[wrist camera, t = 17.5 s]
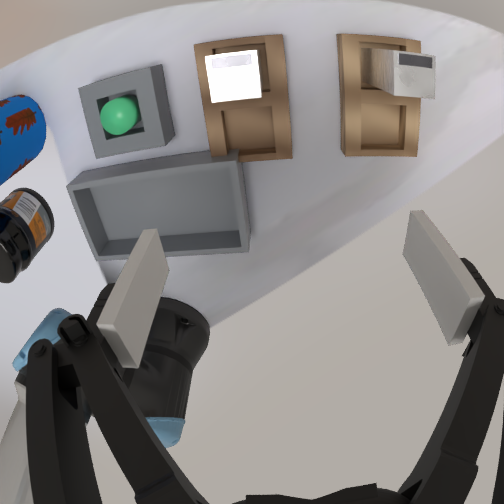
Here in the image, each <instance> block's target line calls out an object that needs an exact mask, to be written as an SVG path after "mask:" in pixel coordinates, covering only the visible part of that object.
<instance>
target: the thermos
mask: <svg viewBox="0 0 504 504" xmlns="http://www.w3.org/2000/svg"><path fill="white" fill-rule="evenodd" d="M45 139H46V123H45V119H44V115H43V113H42V111H41V109H40V107H39V106H38V104H37V103H36V102H35V101H34V100H32V99H31V98H30V97H27V96H24V95H17V96H13V97H10V98H7V99H4V100H1V101H0V185H2V184H3V183H4V182H5V181H7V180H8V179H9V178H11V177H12V176H13V175H14V174H16V173H17V172H18V171H20V170H21V169H22V168H24V167H25V166H26V165H27V164H28V163H30V162H31V161H32V160H33V159H34V158H36V157H37V156H38V154H39V153H40V151H41V150H42V149H43V146H44V143H45Z"/></svg>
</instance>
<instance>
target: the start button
mask: <svg viewBox="0 0 504 504" xmlns="http://www.w3.org/2000/svg"><path fill="white" fill-rule="evenodd" d="M141 118H142V117H141V112H140V107H139V102H138V99H137V98H136V97H134V96H132V95H123V96H120V97H118V98H116V99H113V100H111V101H109V102H108V103H106V104H105V105H104V107H103V108H102V110H101V114H100V120H101V124H102V126H103V128H104V129H105V130H106V131H107V132H109V133H111V134H114V135H120V134H123V133H125V132H127V131H128V130H129V129H131V128H132V127H133V126H135V125H136V124H137V123H138V122H139V121H140V120H141Z"/></svg>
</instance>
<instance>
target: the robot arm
mask: <svg viewBox="0 0 504 504" xmlns="http://www.w3.org/2000/svg"><path fill="white" fill-rule="evenodd" d="M403 255H404V257H405V259H406V261H407V262H408V264H409V266H410V268H411V270H412V272H413V274H414V275H415V277H416V279H417V281H418V283H419V285H420V287H421V289H422V291H423V292H424V295H425V297H426V298H427V300H428V303H429V304H430V307H431V309H432V311H433V313H434V315H435V317H436V319H437V321H438V323H439V325H440V328H441V330H442V332H443V334H444V336H445V339H446V341H447V343H448V345H453V344H458V343H462V342H463V341H464V339H465V337H466V335H467V333H468V335H469V337H470V339H471V340H470V342H469V344H468V346H467V348H466V349H465V351H464V353H463V355H462V356H464V358H463V361H462V364H461V367H460V370H459V373H458V375H457V378H456V381H455V383H454V386H453V388H452V391H451V393H450V396H449V398H448V401H447V403H446V405H445V408H444V410H443V412H442V415H441V417H440V419H439V421H438V423H437V425H436V428H435V430H434V431H433V434H432V436H431V438H430V440H429V442H428V444H427V445H426V448H425V449H424V451H423V453H422V455H421V457H420V459H419V461H418V462H417V464H416V466H415V468H414V469H413V471H412V473H411V474H410V476H409V477H408V478H407V480H406V481H405V482H404V483H403V484H402V486H401V487H400V489H399V490H398V492H394V491H391V490H388V489H382V488H377V485H376V483H373V484H368V485H363V486H357V487H350V488H345V489H342V490H340V491H337V492H334V493H332V494H329V495H326V496H323V497H320V498H317V499H313V500H310V499H302V498H296V497H290V496H284V495H246V500H242V501H239V502H236V503H233V504H464V502H465V500H466V497H467V495H468V493H469V491H470V489H471V487H472V485H473V482H474V480H475V478H476V475H477V472H478V466H477V465H476V461H477V458H478V455H479V452H480V450H481V447H482V445H483V442H484V439H485V436H486V433H487V431H488V428H489V425H490V421H491V418H492V415H493V412H494V409H495V405H496V401H497V398H498V394H499V390H500V387H501V382H502V379H503V374H504V300H503V299H500V298H496V297H495V296H494V294H493V292H492V291H491V289H490V288H489V286H488V285H487V283H486V282H485V281H484V279H482V276H481V275H480V273H478V270H477V269H476V268H475V266H474V265H473V264H472V263H471V262H470V261H468V260H467V259H466V258H459V257H458V255H457V254H456V253H455V251H454V250H453V248H452V247H451V246H450V244H449V243H448V242H447V240H446V239H445V238H444V237H443V235H442V234H441V233H440V231H439V230H438V229H437V227H436V226H435V225H434V224H433V222H432V221H431V220H430V219H429V217H428V216H427V215H426V214H425V212H424V211H423V210H421V211H410V217H409V223H408V229H407V235H406V240H405V245H404V250H403ZM169 271H170V270H169V267H168V264H167V261H166V257H165V254H164V251H163V248H162V244H161V241H160V237H159V234H158V230H157V228H156V229H146V230H143V232H142V233H141V235H140V237H139V239H138V241H137V243H136V245H135V246H134V248H133V250H132V252H131V254H130V256H129V258H128V260H127V262H126V264H125V265H124V267H123V269H122V271H121V273H120V275H119V277H118V279H117V281H116V283H110V284H108V285H107V286H106V287H105V288H104V289H103V290H102V291H101V292H100V294H99V296H98V298H97V301H96V302H95V304H94V307H93V308H92V310H91V312H90V314H89V316H88V318H87V320H85V318H84V317H83V316H82V315H80V314H73V315H72V314H70V313H69V312H67V311H66V310H64V309H62V308H57V309H53V310H52V311H50V313H49V314H48V315H47V316H46V318H45V319H44V320H43V321H42V322H41V324H40V325H39V326H38V327H37V329H36V330H35V331H34V333H33V334H32V335H31V337H30V338H29V340H28V341H27V342H26V344H25V345H24V347H23V348H22V349H21V351H20V352H19V354H18V355H17V357H16V358H15V359H14V361H13V367H14V368H15V370H16V371H19V374H18V376H17V378H16V380H15V382H14V384H15V387H16V390H17V393H18V402H17V404H16V406H15V408H14V411H13V413H12V416H11V418H10V420H9V423H8V425H7V428H6V431H5V433H4V436H3V439H2V441H1V444H0V504H102V501H101V497H100V493H99V489H98V485H97V481H96V477H95V472H94V468H93V463H92V459H91V454H90V449H89V443H88V438H87V432H86V426H87V424H88V422H89V419H90V417H91V416H93V417H95V419H96V421H97V423H98V425H99V427H100V430H101V432H102V434H103V436H104V438H105V440H106V442H107V444H108V446H109V447H110V449H111V451H112V453H113V455H114V457H115V459H116V461H117V462H118V464H119V466H120V468H121V470H122V471H123V473H124V475H125V477H126V478H127V480H128V481H129V483H130V485H131V486H132V488H133V490H134V492H135V500H136V503H137V504H209V503H208V502H207V501H206V500H205V499H204V497H202V495H201V494H200V493H199V492H198V491H197V490H196V489H195V488H194V486H193V485H192V484H191V483H190V481H189V480H188V478H187V477H186V476H185V475H184V473H183V472H182V471H181V469H180V468H179V467H178V465H177V464H176V462H175V461H174V460H173V458H172V457H171V456H170V454H169V453H168V451H167V450H166V448H168V447H171V446H174V445H175V444H177V443H178V441H179V440H180V437H181V433H182V429H183V426H184V424H185V420H184V419H185V414H186V407H187V402H188V396H189V390H190V384H191V378H192V373H193V369H194V368H195V366H196V364H197V363H198V361H199V360H200V358H201V356H202V355H203V353H204V351H205V350H206V348H207V345H208V341H209V335H210V329H209V326H208V323H207V322H206V320H205V319H204V318H203V316H202V315H201V314H200V313H198V312H197V311H196V310H195V309H193V308H192V307H190V306H188V305H186V304H184V303H181V302H179V301H176V300H172V299H167V298H160V297H161V294H162V291H163V288H164V285H165V282H166V279H167V276H168V273H169ZM492 504H504V412H503V428H502V440H501V448H500V457H499V464H498V470H497V476H496V482H495V488H494V492H493V499H492Z"/></svg>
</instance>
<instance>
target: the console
mask: <svg viewBox="0 0 504 504" xmlns="http://www.w3.org/2000/svg"><path fill="white" fill-rule="evenodd" d="M78 89H79V94H80V98H81V102H82V107H83V111H84V115H85V119H86V123H87V127H88V131H89V134H90V138H91V142H92V145H93V149H94V152H95V156H96V159H99V158H103V157H108V156H113V155H117V154H122V153H128V152H133V151H138V150H144V149H150V148H155V147H161V146H166V145H167V144H168V142H169V141H170V140H171V139H172V138H173V137H174V136H175V134H174V129H173V124H172V118H171V113H170V108H169V102H168V97H167V92H166V86H165V80H164V75H163V69H162V64H161V65H157V66H152V67H148V68H144V69H140V70H136V71H132V72H129V73H125V74H121V75H118V76H114V77H111V78H108V79H104V80H101V81H98V82H95V83H92V84H89V85H86V86H83V87H81V88H78ZM123 95H132V96H134V97H136V98H137V99H138V102H139V107H140V112H141V117H142V118H141V120H140V121H139V122H138V123H137V124H136V125H135V126H133V127H132V128H131V129H129V130H128V131H127V132H125V133H123V134H120V135H114V134H111V133H109V132H107V131H106V130H105V129H104V128H103V126H102V124H101V120H100V114H101V110H102V108H103V107H104V105H105V104H106V103H108V102H109V101H111V100H113V99H116V98H118V97H120V96H123Z"/></svg>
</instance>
